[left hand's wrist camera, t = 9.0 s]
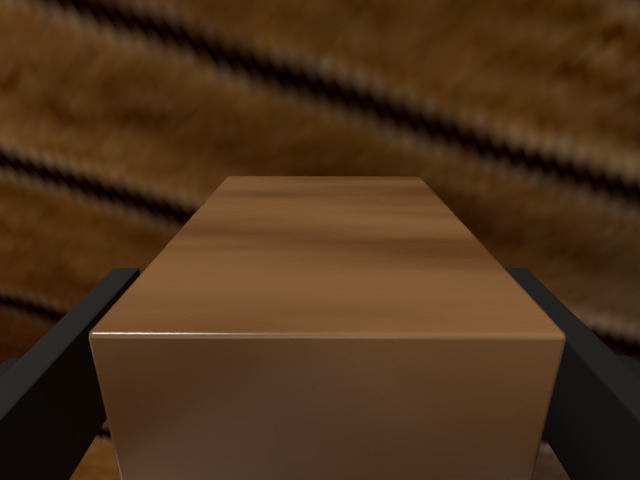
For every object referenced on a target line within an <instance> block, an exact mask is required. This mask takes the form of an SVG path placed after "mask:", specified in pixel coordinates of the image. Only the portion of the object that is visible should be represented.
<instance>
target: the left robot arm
mask: <svg viewBox="0 0 640 480" xmlns="http://www.w3.org/2000/svg"><path fill="white" fill-rule="evenodd" d="M506 270H507V272H508V273H509V274H510V275H511V276H512V277H513V278H514V279H515V280H516V281H517V282H518V283H519V285H520V286H521V287H522V288H523V289H524V290H525V291H526V292H527V293H528V294H529V295H530V296H531V298H532V299H533V300H534V301H535V302H536V303H537V304H538V305H539V306H540V307H541V308H542V309H543V310H544V312H545V313H546V314H547V315H548V316H549V317H550V318H551V319H552V320H553V321H554V322H555V323H556V325H557V326H558V327H559V328H560V329H561V330H562V331H563V332H564V333H565V337H566V341H565V345H564V349H563V353H562V357H561V361H560V365H559V370H558V374H557V378H556V382H555V386H554V390H553V394H552V398H551V402H550V406H549V410H548V414H547V418H546V422H545V426H544V431H543V435H544V437H545V438H546V440H547V441H548V443H549V445H550V446H551V448H552V450H553V451H554V453H555V455H556V456H557V458H558V459H559V461H560V463H561V464H562V466H563V468H564V469H565V471H566V472H567V474H568V476H569V477H570V479H571V480H640V362H638V361H636V360H634V359H633V358H631V357H629V356H627V355H615V354H614V353H613V352H612V351H611V350H610V349H609V348H608V347H607V346H606V345H605V344H604V343H603V342H602V341H601V340H600V339H599V338H598V337H597V336H596V335H595V334H594V333H592V332H591V331H590V330H589V329H588V328H587V327H586V326H585V325H584V324H583V323H582V322H581V321H580V320H579V319H578V318H577V317H576V316H575V315H574V314H573V313H572V312H571V311H570V310H569V309H568V308H567V307H565V306H564V305H563V304H562V303H561V302H560V301H559V300H558V299H557V298H556V297H555V296H554V295H553V294H552V293H551V292H550V291H549V290H548V289H547V288H546V287H545V286H544V285H543V284H542V283H541V282H540V281H538V280H537V279H536V278H535V277H534V276H533V275H532V274H531V273H530V272H529V271H528V270H527V269H506ZM139 276H140V271H139V269H113V270H112V271H111V272H110V273H109V274H108V275H107V276H106V277H105V278H104V279H103V280H102V281H100V282H99V283H98V284H97V285H96V286H95V287H94V288H93V289H92V290H91V291H90V292H89V293H88V294H87V295H86V296H85V297H84V298H83V299H82V300H81V301H80V302H79V303H78V304H77V305H76V306H75V307H73V308H72V309H71V310H70V311H69V312H68V313H67V314H66V315H65V316H64V317H63V318H62V319H61V320H60V321H59V322H58V323H57V324H56V325H55V326H54V327H53V328H52V329H51V330H50V331H49V332H47V333H46V334H45V335H44V336H43V337H42V338H41V339H40V340H39V341H38V342H37V343H36V344H35V345H34V346H33V347H32V348H31V349H30V350H29V351H28V352H27V353H26V354H25V355H24V356H23V357H12V358H10V359H9V360H7V361H5V362H3V363H2V364H0V480H69V479H70V477H71V476H72V474H73V472H74V471H75V469H76V468H77V466H78V464H79V463H80V461H81V459H82V458H83V456H84V455H85V453H86V451H87V450H88V448H89V446H90V445H91V443H92V441H93V440H94V438H95V437H96V435H97V433H98V432H99V430H100V428H101V427H102V425H103V424H104V422H105V420H106V419H107V416H106V412H105V408H104V403H103V399H102V394H101V390H100V386H99V381H98V377H97V373H96V368H95V364H94V360H93V355H92V351H91V346H90V342H89V333H90V331H91V330H92V329H93V328H94V327H95V326H96V324H97V323H98V322H99V321H100V320H101V319H102V318H103V317H104V315H105V314H106V313H107V312H108V311H109V310H110V309H111V308H112V306H113V305H114V304H115V303H116V302H117V301H118V300H119V299H120V297H121V296H122V295H123V294H124V293H125V292H126V291H127V289H128V288H129V287H130V286H131V285H132V284H133V283H134V282H135V280H136V279H137V278H138V277H139Z"/></svg>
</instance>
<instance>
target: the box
mask: <svg viewBox="0 0 640 480" xmlns="http://www.w3.org/2000/svg"><path fill="white" fill-rule="evenodd" d="M565 341H566V337H565V333H564V332H563V331H562V330H561V329H560V328H559V327H558V326H557V325H556V323H555V322H554V321H553V320H552V319H551V318H550V317H549V316H548V315H547V314H546V313H545V312H544V310H543V309H542V308H541V307H540V306H539V305H538V304H537V303H536V302H535V301H534V300H533V299H532V298H531V296H530V295H529V294H528V293H527V292H526V291H525V290H524V289H523V288H522V287H521V286H520V285H519V283H518V282H517V281H516V280H515V279H514V278H513V277H512V276H511V275H510V274H509V273H508V272H507V270H506V269H505V268H504V267H503V266H502V265H501V264H500V263H499V262H498V261H497V260H496V259H495V258H494V256H493V255H492V254H491V253H490V252H489V251H488V250H487V249H486V248H485V247H484V246H483V245H482V243H481V242H480V241H479V240H478V239H477V238H476V237H475V236H474V235H473V234H472V233H471V232H470V230H469V229H468V228H467V227H466V226H465V225H464V224H463V223H462V222H461V221H460V220H459V219H458V218H457V216H456V215H455V214H454V213H453V212H452V211H451V210H450V209H449V208H448V207H447V206H446V205H445V203H444V202H443V201H442V200H441V199H440V198H439V197H438V196H437V195H436V194H435V193H434V192H433V191H432V189H431V188H430V187H429V186H428V185H427V184H426V183H425V182H424V181H423V180H422V179H421V178H420V177H380V176H229V177H227V178H226V179H225V180H224V181H223V182H222V184H221V185H220V186H219V187H218V188H217V189H216V190H215V191H214V193H213V194H212V195H211V196H210V197H209V198H208V199H207V200H206V202H205V203H204V204H203V205H202V206H201V207H200V208H199V210H198V211H197V212H196V213H195V214H194V215H193V216H192V217H191V219H190V220H189V221H188V222H187V223H186V224H185V225H184V226H183V228H182V229H181V230H180V231H179V232H178V233H177V234H176V235H175V237H174V238H173V239H172V240H171V241H170V242H169V243H168V244H167V246H166V247H165V248H164V249H163V250H162V251H161V252H160V253H159V255H158V256H157V257H156V258H155V259H154V260H153V261H152V262H151V264H150V265H149V266H148V267H147V268H146V269H145V270H144V271H143V273H142V274H141V275H140V276H139V277H138V278H137V279H136V280H135V282H134V283H133V284H132V285H131V286H130V287H129V288H128V289H127V291H126V292H125V293H124V294H123V295H122V296H121V297H120V299H119V300H118V301H117V302H116V303H115V304H114V305H113V306H112V308H111V309H110V310H109V311H108V312H107V313H106V314H105V315H104V317H103V318H102V319H101V320H100V321H99V322H98V323H97V324H96V326H95V327H94V328H93V329H92V330H91V331H90V333H89V342H90V346H91V351H92V355H93V360H94V364H95V368H96V373H97V377H98V381H99V386H100V390H101V394H102V399H103V403H104V408H105V412H106V416H107V421H108V425H109V429H110V434H111V438H112V443H113V447H114V451H115V456H116V460H117V464H118V469H119V473H120V477H121V480H531V479H532V475H533V471H534V467H535V463H536V459H537V455H538V451H539V447H540V443H541V439H542V435H543V431H544V426H545V422H546V418H547V414H548V410H549V406H550V402H551V398H552V394H553V390H554V386H555V382H556V378H557V374H558V370H559V365H560V361H561V357H562V353H563V349H564V345H565Z"/></svg>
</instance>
